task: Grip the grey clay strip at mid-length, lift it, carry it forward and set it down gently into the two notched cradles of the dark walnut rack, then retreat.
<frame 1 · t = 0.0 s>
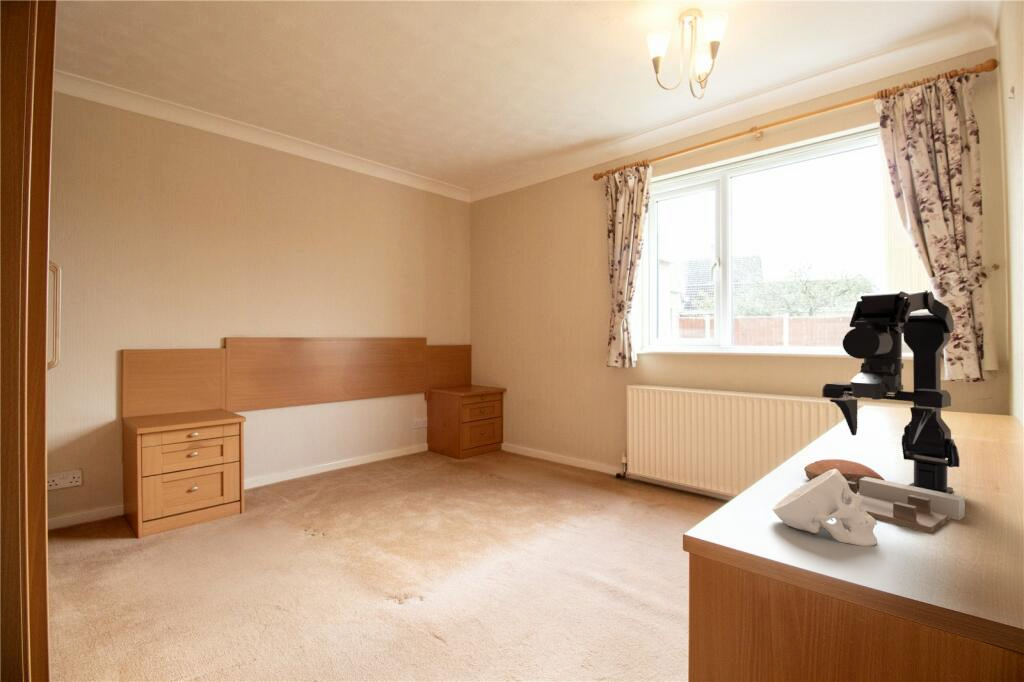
hand: (881, 439, 91), 15 cm above the table, fingers open, 9 cm apart
ceramic shard: (837, 482, 114), on the table
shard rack: (873, 510, 94), on the table
skull bowl: (822, 533, 83), on the table
clay strip: (908, 507, 96), on the table
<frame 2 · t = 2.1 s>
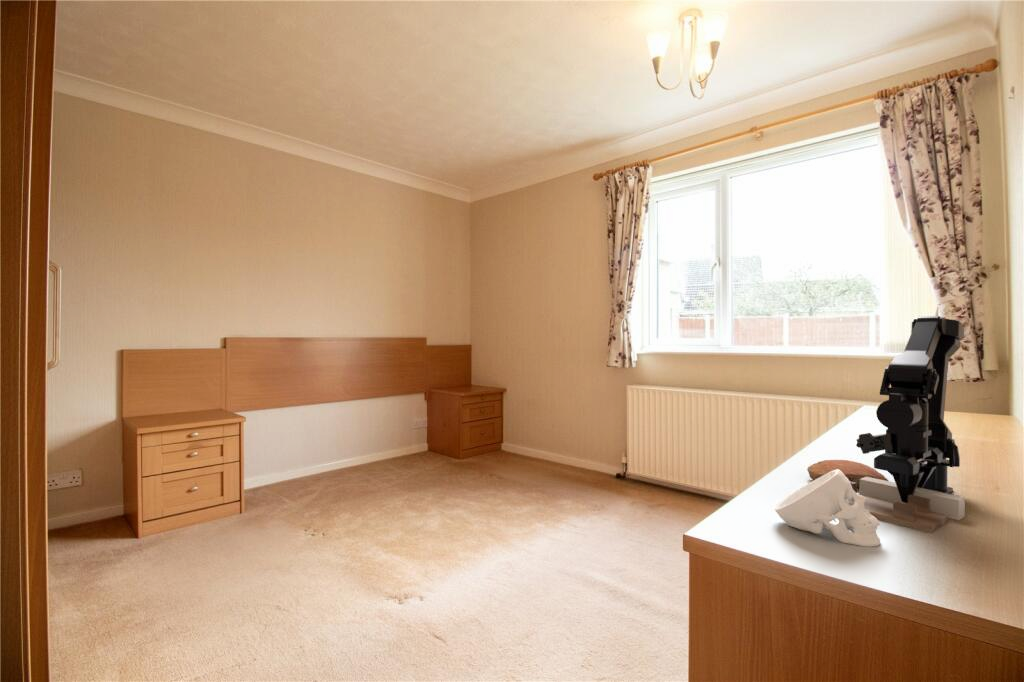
hand: (908, 500, 96), 1 cm above the table, fingers closed on clay strip, 4 cm apart
clay strip: (908, 507, 96), on the table, touching gripper
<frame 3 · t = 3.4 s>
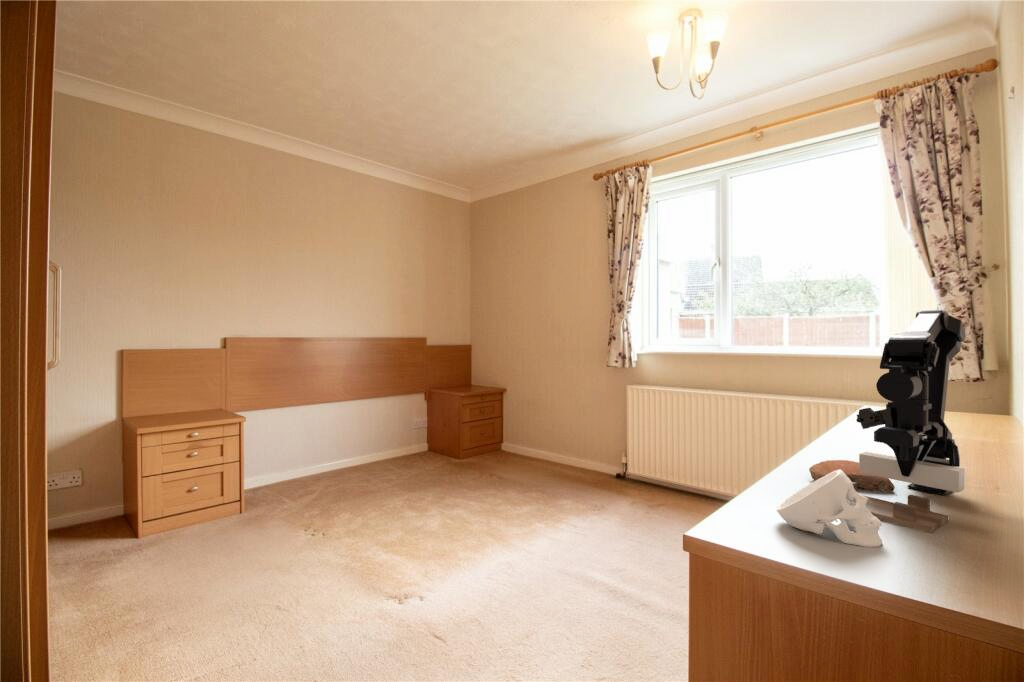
hand: (908, 474, 96), 6 cm above the table, fingers closed on clay strip, 3 cm apart
clay strip: (908, 480, 96), point 5 cm above the table, touching gripper
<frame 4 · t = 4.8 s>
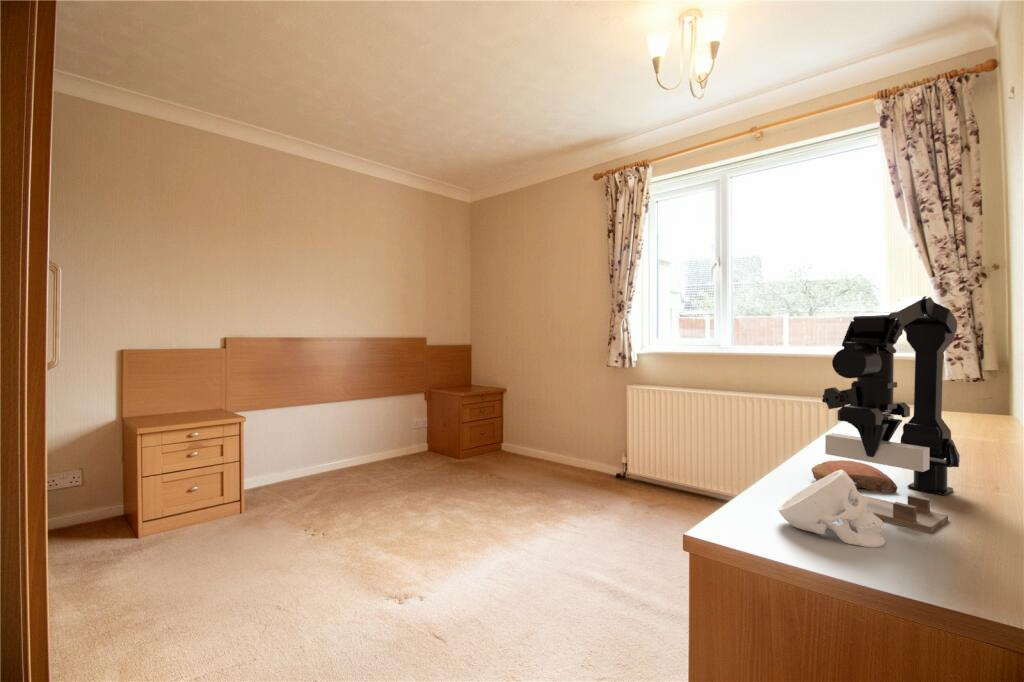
hand: (874, 455, 94), 11 cm above the table, fingers closed on clay strip, 3 cm apart
clay strip: (874, 461, 94), point 10 cm above the table, touching gripper
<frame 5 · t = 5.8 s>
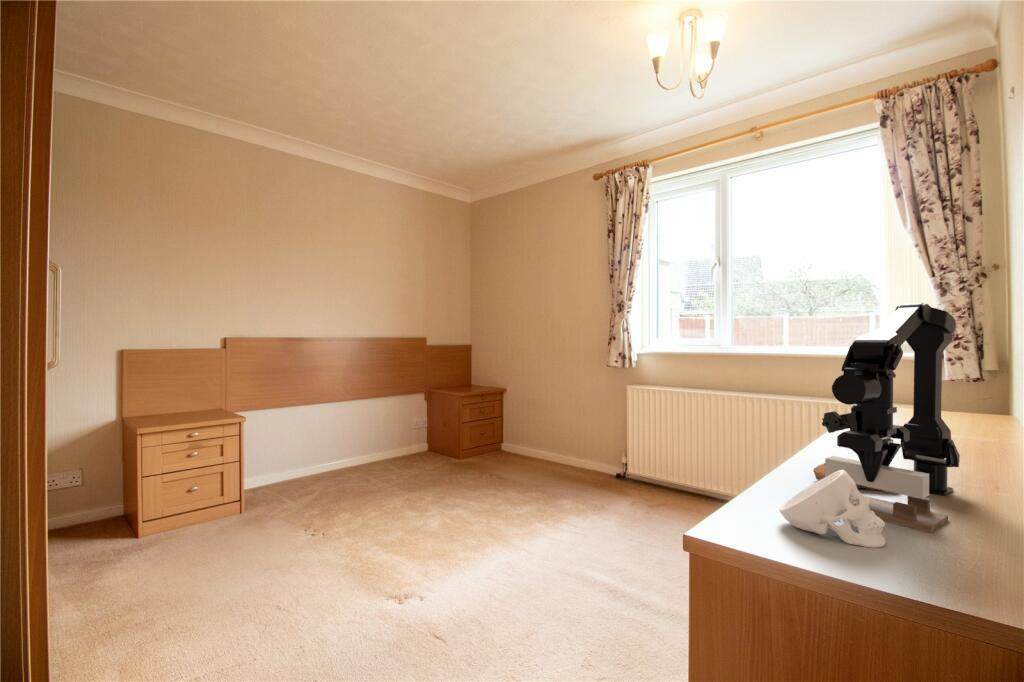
hand: (874, 479, 94), 6 cm above the table, fingers closed on clay strip, 3 cm apart
clay strip: (874, 485, 94), point 5 cm above the table, touching gripper
when the fingers open (3 cm above the table, at t = 6.7 s): clay strip drops 1 cm, resting on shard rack.
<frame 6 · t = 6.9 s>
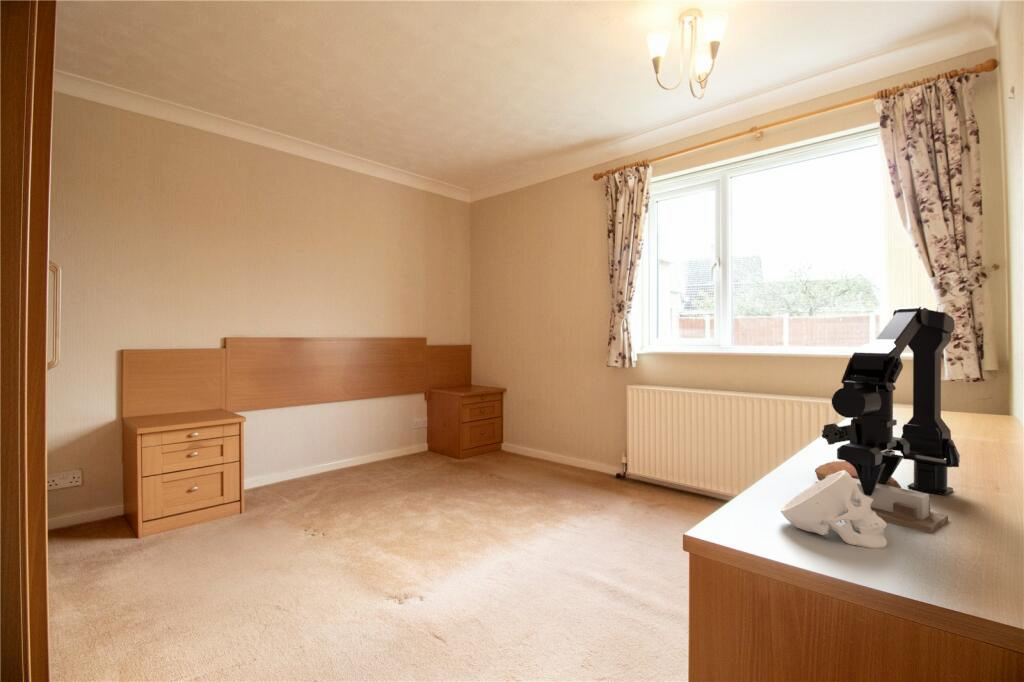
hand: (873, 492, 94), 3 cm above the table, fingers open, 6 cm apart
clay strip: (873, 505, 94), point 1 cm above the table, touching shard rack
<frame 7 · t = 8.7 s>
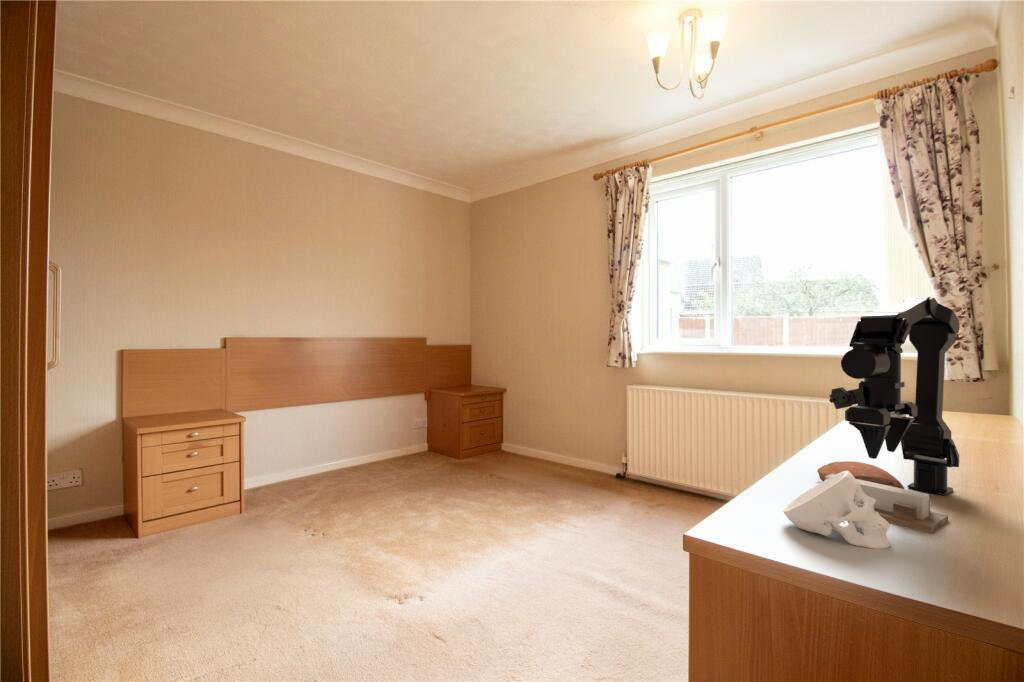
hand: (882, 454, 94), 11 cm above the table, fingers open, 9 cm apart
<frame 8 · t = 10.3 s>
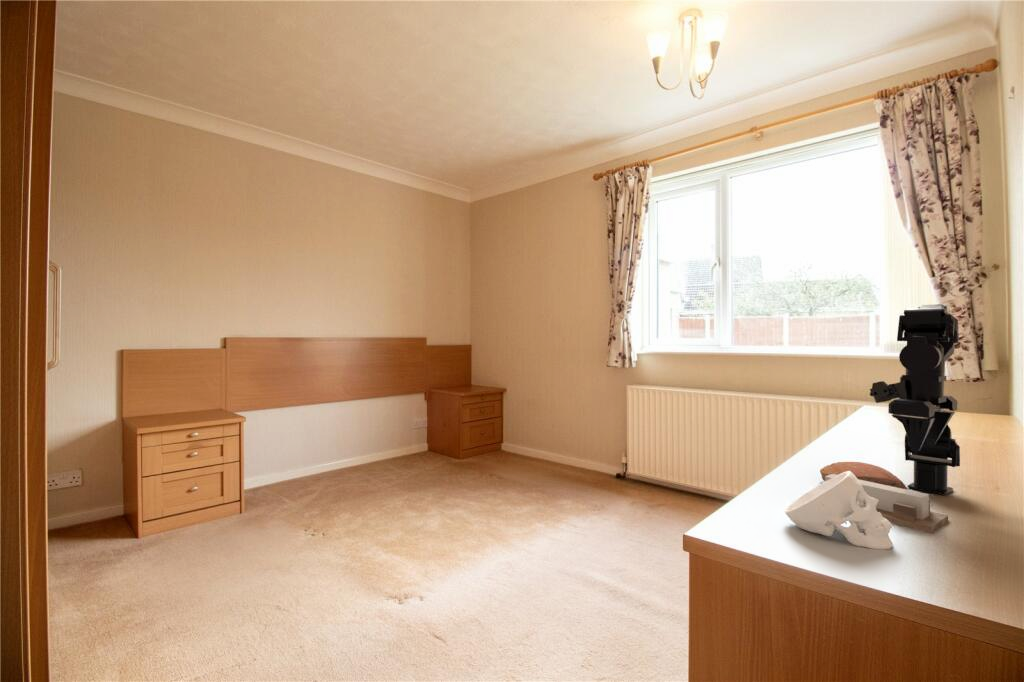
hand: (923, 447, 95), 12 cm above the table, fingers open, 9 cm apart
at the end: clay strip 0.0 cm off-centre on the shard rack, point 1.0 cm above the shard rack's base; clay strip tilted 0°; the gripper is holding nothing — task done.
